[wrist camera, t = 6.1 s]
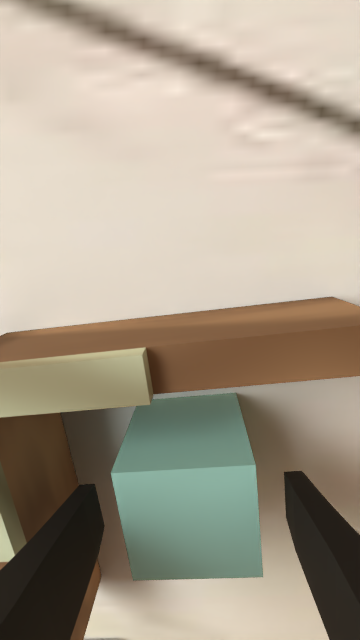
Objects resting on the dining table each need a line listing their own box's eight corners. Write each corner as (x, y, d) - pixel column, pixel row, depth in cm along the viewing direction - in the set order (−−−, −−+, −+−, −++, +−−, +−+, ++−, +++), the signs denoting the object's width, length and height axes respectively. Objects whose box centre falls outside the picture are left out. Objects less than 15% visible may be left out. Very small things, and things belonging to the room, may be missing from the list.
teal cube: (235, 391, 13) (255, 465, 9) (242, 474, 14) (262, 577, 10) (138, 399, 13) (110, 473, 9) (152, 479, 14) (133, 580, 10)
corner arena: (331, 567, 15) (389, 703, 10) (75, 576, 16) (29, 702, 12) (331, 296, 12) (417, 327, 7) (7, 333, 13) (-95, 378, 8)
